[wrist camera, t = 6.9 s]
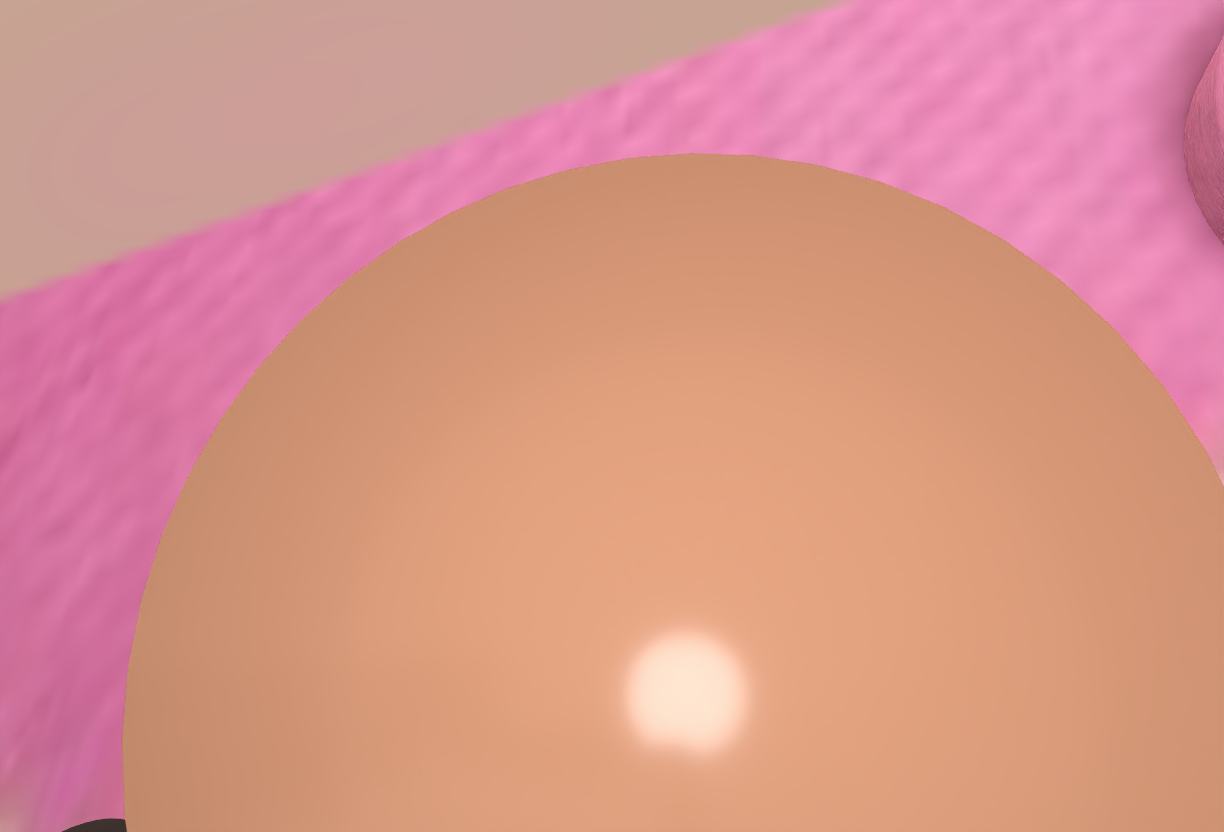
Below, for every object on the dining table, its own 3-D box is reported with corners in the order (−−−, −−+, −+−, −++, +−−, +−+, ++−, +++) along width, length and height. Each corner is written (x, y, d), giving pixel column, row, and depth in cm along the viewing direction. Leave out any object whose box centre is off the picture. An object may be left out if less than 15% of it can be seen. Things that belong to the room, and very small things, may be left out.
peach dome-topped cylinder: (645, 1019, 15) (191, 1531, 4) (545, 644, 17) (79, 343, 6) (1023, 901, 15) (1592, 1126, 4) (871, 534, 17) (961, 19, 6)
